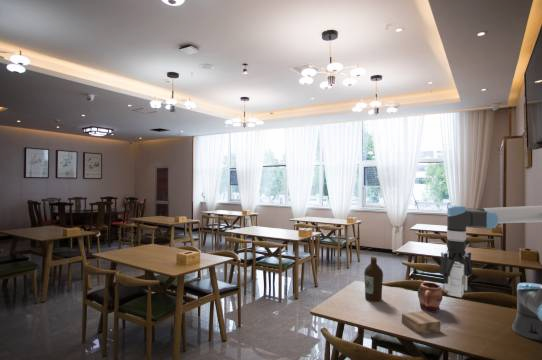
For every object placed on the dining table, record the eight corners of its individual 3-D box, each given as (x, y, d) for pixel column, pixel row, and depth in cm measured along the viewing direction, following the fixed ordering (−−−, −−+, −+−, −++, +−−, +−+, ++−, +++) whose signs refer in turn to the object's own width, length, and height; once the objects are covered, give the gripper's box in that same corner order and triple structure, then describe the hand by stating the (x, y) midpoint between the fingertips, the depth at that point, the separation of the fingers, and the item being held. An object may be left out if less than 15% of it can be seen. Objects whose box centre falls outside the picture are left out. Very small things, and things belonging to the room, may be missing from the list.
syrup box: (449, 291, 151) (450, 260, 151) (464, 294, 147) (464, 262, 147) (447, 295, 146) (447, 263, 146) (462, 298, 143) (462, 265, 143)
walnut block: (422, 321, 164) (422, 311, 164) (440, 331, 152) (440, 321, 152) (401, 323, 160) (401, 313, 161) (418, 334, 149) (418, 323, 149)
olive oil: (373, 294, 200) (373, 254, 200) (386, 300, 191) (387, 258, 191) (360, 297, 195) (360, 256, 195) (373, 303, 186) (373, 260, 186)
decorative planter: (440, 319, 165) (440, 292, 165) (414, 313, 172) (415, 287, 172) (443, 306, 182) (444, 282, 182) (420, 302, 189) (420, 278, 189)
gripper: (469, 237, 152) (469, 286, 152) (430, 238, 149) (429, 288, 149) (482, 240, 145) (482, 291, 145) (441, 241, 141) (441, 293, 141)
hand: (455, 289), depth 147 cm, fingers closed on syrup box, 8 cm apart
